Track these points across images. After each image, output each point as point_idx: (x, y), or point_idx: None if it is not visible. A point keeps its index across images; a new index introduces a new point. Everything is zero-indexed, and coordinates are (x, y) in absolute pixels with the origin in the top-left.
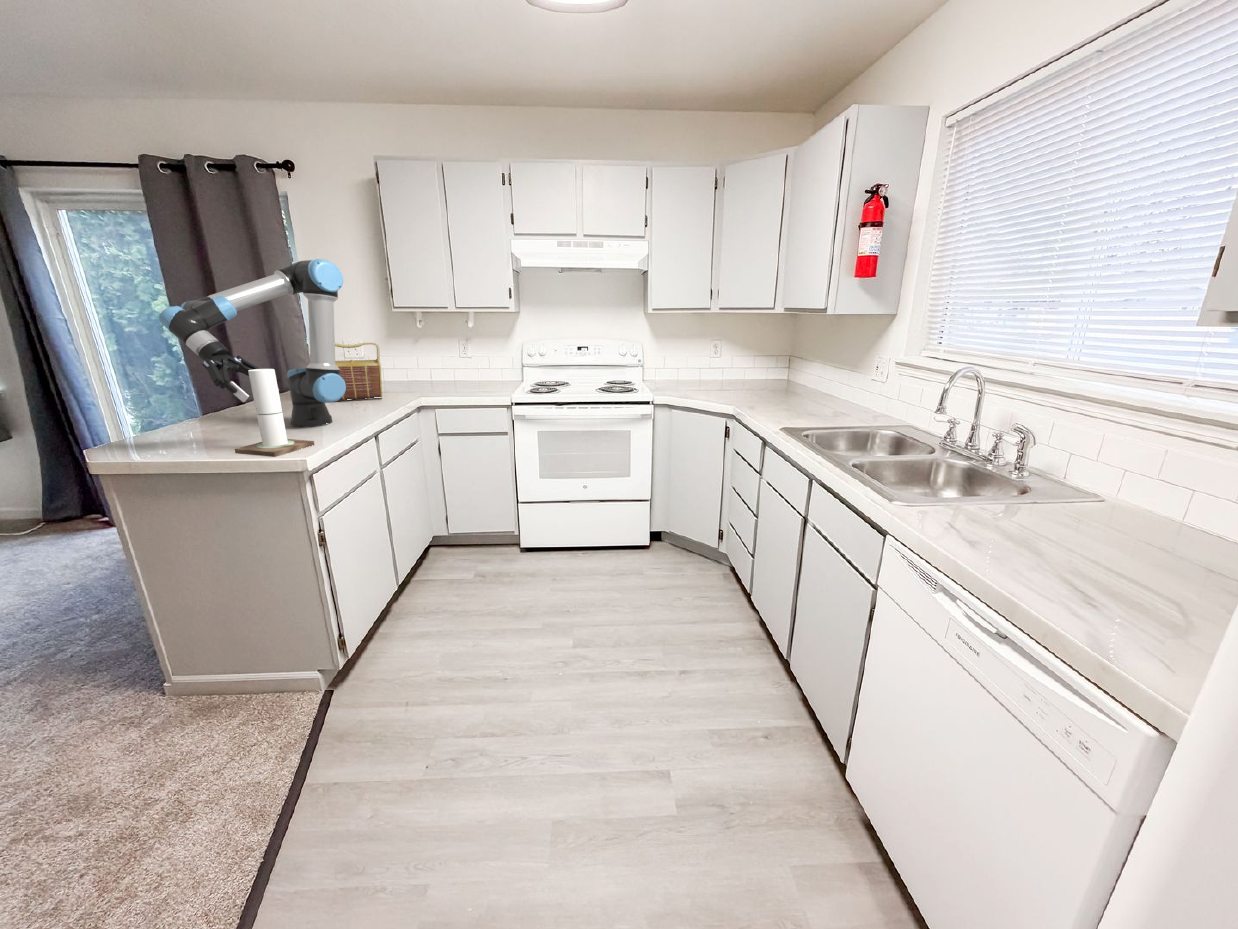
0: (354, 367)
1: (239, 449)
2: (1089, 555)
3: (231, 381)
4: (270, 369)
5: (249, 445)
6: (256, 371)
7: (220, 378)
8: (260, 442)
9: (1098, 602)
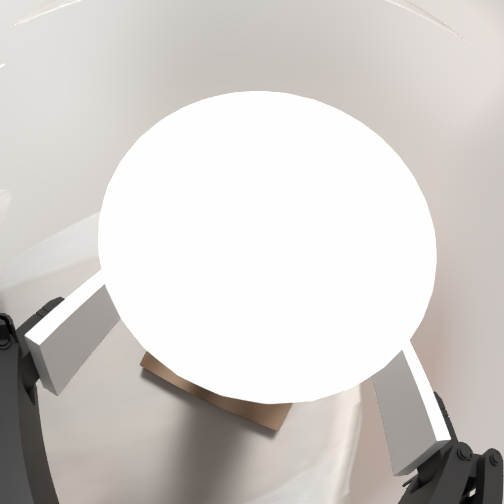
0: None
1: (286, 414)
2: (415, 8)
3: (444, 440)
4: (220, 124)
5: (237, 409)
6: (426, 216)
7: (492, 470)
8: (197, 393)
9: (443, 25)
